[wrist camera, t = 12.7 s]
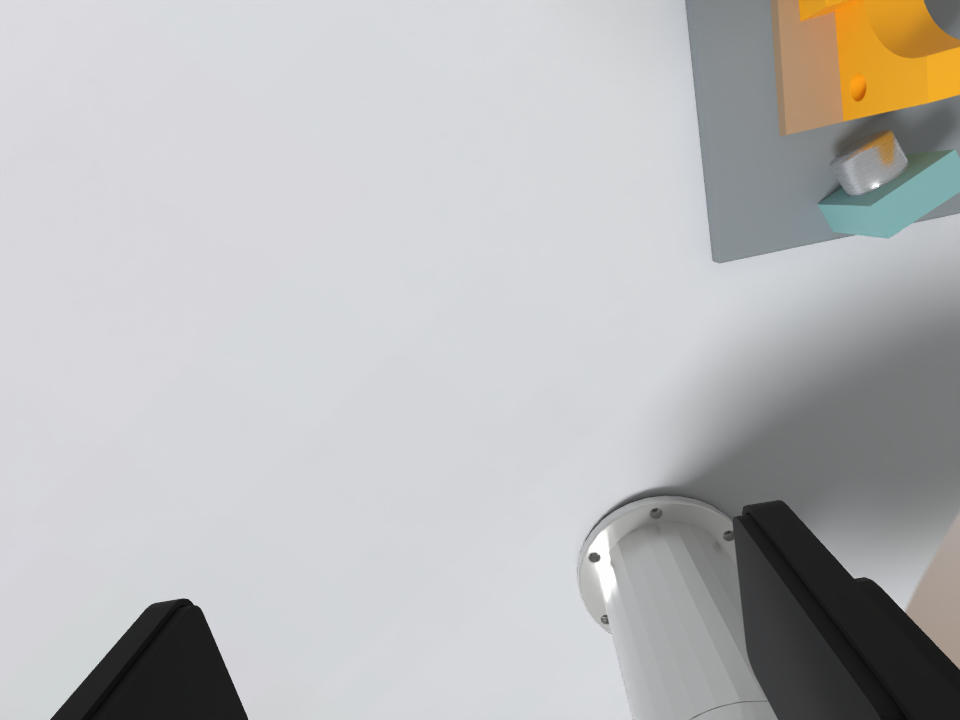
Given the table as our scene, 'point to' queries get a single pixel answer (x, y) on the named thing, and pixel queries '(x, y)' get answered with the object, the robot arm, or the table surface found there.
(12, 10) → the table surface
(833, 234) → the stand
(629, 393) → the table surface
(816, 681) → the robot arm
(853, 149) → the short metal cylinder
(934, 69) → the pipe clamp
